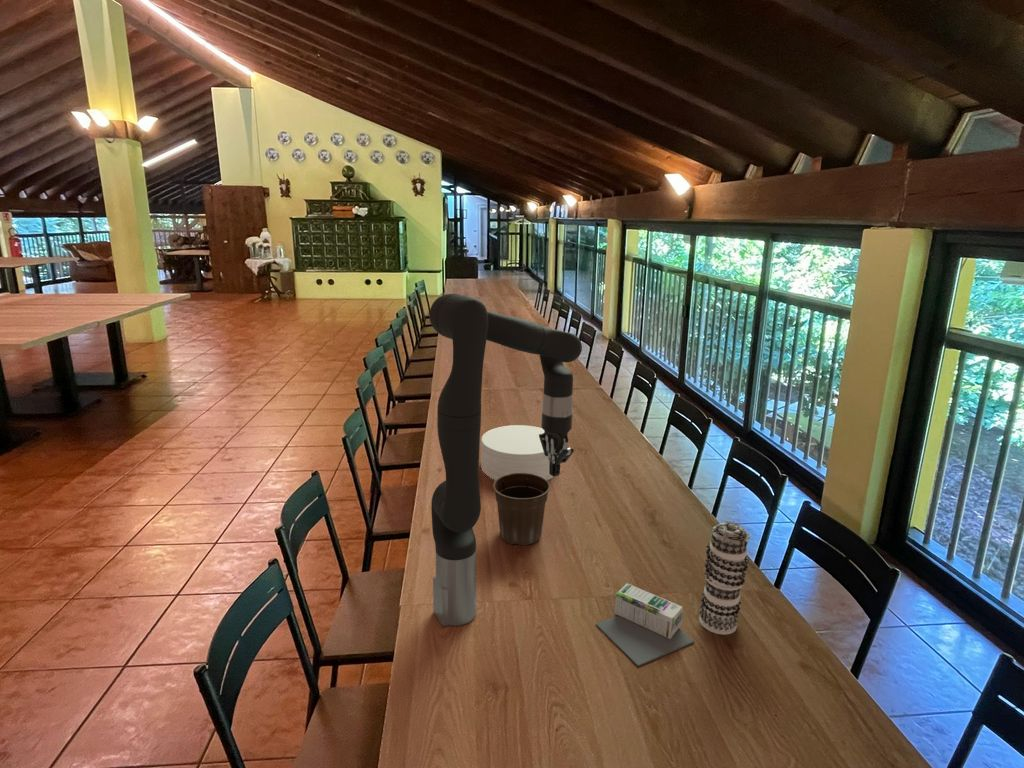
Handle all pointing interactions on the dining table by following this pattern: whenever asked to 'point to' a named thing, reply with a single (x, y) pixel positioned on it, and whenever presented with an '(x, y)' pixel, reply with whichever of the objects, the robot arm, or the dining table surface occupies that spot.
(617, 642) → the mat
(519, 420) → the dining table surface
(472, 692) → the dining table surface
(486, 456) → the plate stack
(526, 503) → the plant pot
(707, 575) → the decorative candle
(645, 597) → the syrup box
